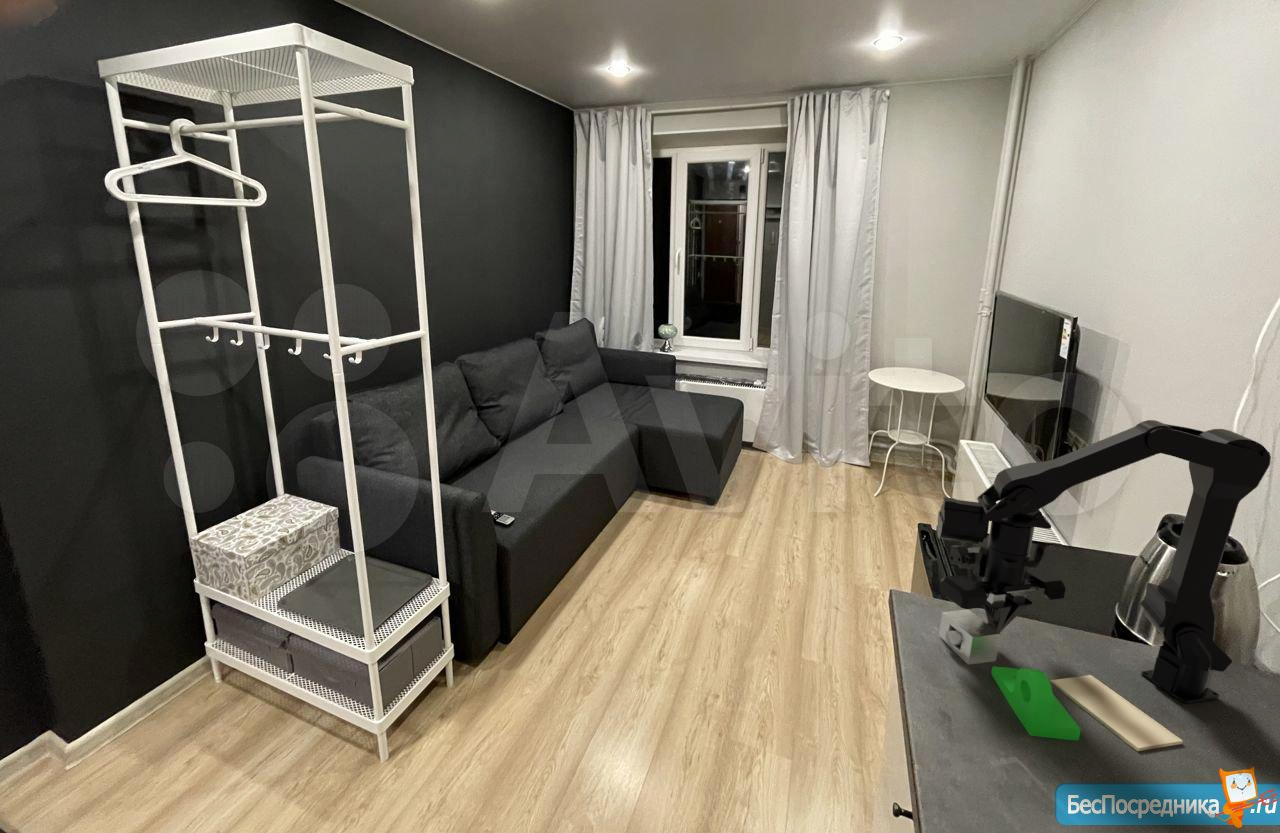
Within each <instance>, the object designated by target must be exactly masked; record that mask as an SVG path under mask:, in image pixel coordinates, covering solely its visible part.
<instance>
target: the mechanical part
mask: <svg viewBox="0 0 1280 833" xmlns="http://www.w3.org/2000/svg"><path fill="white" fill-rule="evenodd" d="M990 674H991V676H992V678H993V680H994V681H995V682H996V685H997V686H998V687H999V689H1000V691H1001V692H1002V694H1003V695H1004V697H1005V699H1006V701H1007V702H1008V704H1009V706H1010V707H1011V709H1012V710H1013V712H1014V713H1015V715H1016V716H1017V718H1018V719H1019V721H1020V722H1021V724H1022V725H1023V727H1024V729H1025V730H1026V731H1027V733H1028V735H1029V736H1033V737H1042V738H1050V739H1051V738H1052V739H1059V740H1060V739H1061V740H1068V741H1069V740H1070V741H1078V742H1079V741H1080V740H1079V739H1080V736H1081V732H1082V730H1081V727H1079V725H1078V724H1077V722H1076V721H1075V720H1074V718H1073V717H1072V716H1071V714H1069V712H1068V711H1067V710H1066V709H1065V707H1064V705H1062V703H1061V702H1060V700H1059V699H1058V698H1057V697H1056V696H1055V694H1054V693H1053V687H1052V685H1051V681H1050V680H1049V677H1047V674H1046V673H1045V672H1044V671H1043V670H1040V669H1038V668H1037V669H1036V668H1027V667H1021V668H1015V667H1006V666H1005V667H1003V666H1002V667H1001V666H992V668H991V673H990Z"/></svg>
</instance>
